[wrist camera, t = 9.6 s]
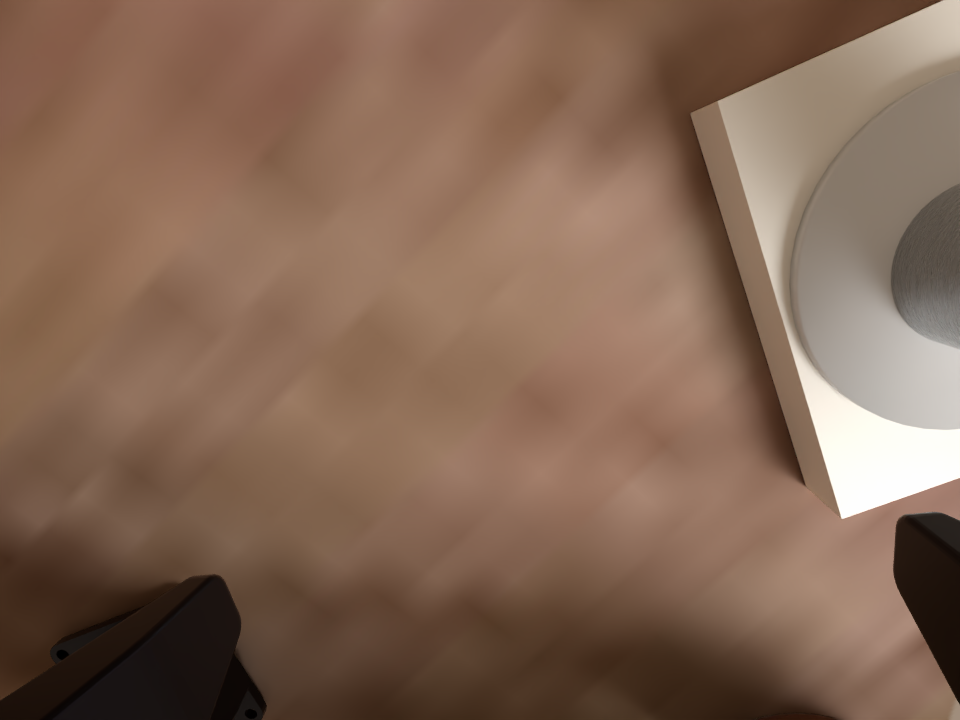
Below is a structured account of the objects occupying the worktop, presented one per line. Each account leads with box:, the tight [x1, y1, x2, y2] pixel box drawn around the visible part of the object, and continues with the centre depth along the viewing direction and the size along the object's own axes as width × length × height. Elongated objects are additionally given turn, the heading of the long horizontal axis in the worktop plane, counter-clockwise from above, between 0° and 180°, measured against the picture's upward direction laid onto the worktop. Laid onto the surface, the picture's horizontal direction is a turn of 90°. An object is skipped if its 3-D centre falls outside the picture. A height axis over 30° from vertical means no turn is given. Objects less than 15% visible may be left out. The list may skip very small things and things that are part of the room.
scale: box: [690, 0, 960, 519], centre depth 18 cm, size 12×14×3 cm
